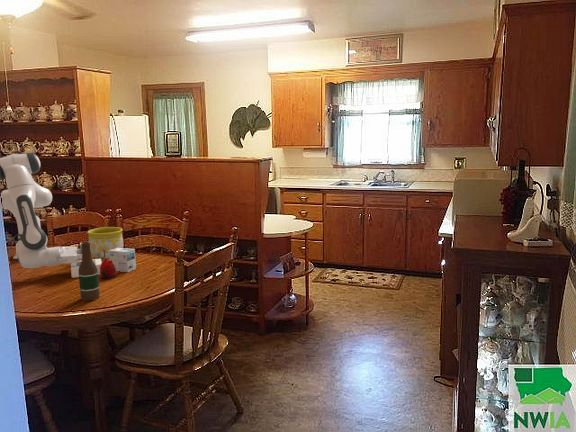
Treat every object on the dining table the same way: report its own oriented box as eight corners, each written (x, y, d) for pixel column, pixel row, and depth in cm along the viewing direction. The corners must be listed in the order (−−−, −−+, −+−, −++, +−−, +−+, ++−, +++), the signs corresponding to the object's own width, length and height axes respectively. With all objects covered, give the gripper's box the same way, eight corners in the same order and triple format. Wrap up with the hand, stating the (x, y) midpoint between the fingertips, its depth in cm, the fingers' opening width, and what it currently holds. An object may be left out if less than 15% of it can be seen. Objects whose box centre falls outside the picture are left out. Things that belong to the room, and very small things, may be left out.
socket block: (71, 271, 238) (70, 261, 237) (101, 267, 243) (100, 257, 242) (71, 277, 227) (70, 267, 226) (102, 274, 233) (102, 263, 232)
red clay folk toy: (119, 275, 229) (117, 245, 227) (110, 280, 223) (108, 249, 220) (106, 274, 231) (103, 245, 229) (96, 279, 225) (94, 248, 222)
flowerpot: (90, 265, 249) (87, 234, 246) (89, 257, 265) (86, 228, 262) (126, 261, 256) (124, 231, 253) (123, 253, 272) (121, 225, 269)
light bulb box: (136, 269, 241) (135, 248, 239) (128, 272, 235) (126, 251, 233) (119, 267, 244) (117, 247, 242) (110, 271, 238) (108, 250, 236)
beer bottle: (83, 295, 202) (79, 240, 198) (102, 294, 202) (98, 240, 198) (77, 301, 194) (72, 245, 190) (96, 301, 195) (92, 244, 191)
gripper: (55, 254, 218) (87, 251, 224) (56, 245, 237) (86, 242, 242) (56, 267, 219) (88, 264, 225) (57, 257, 238) (87, 254, 243)
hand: (87, 253), depth 234 cm, fingers open, 8 cm apart
